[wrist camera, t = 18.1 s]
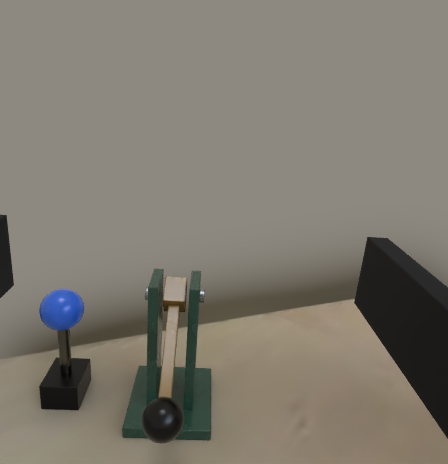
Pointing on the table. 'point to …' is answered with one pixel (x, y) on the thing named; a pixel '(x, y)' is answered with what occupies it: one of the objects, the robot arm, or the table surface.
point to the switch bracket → (185, 379)
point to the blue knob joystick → (64, 353)
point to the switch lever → (167, 371)
